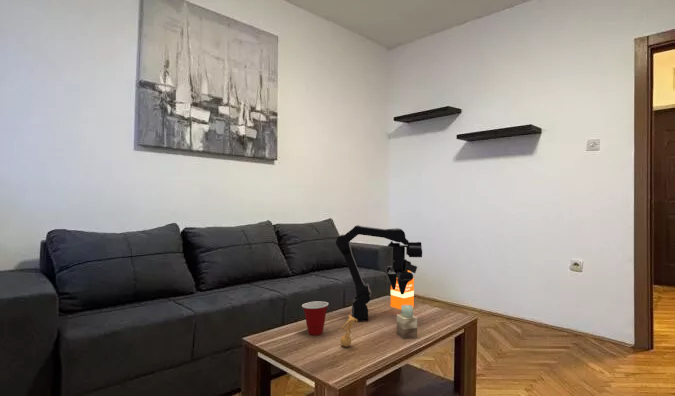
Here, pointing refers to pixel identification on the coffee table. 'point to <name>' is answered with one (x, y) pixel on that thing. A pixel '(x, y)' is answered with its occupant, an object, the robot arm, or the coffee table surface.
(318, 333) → the plastic cup
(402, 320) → the birch block
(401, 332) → the walnut block
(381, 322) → the coffee table surface
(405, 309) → the stubby sage cylinder
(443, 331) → the coffee table surface
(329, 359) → the coffee table surface
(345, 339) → the figurine
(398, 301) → the orange juice
